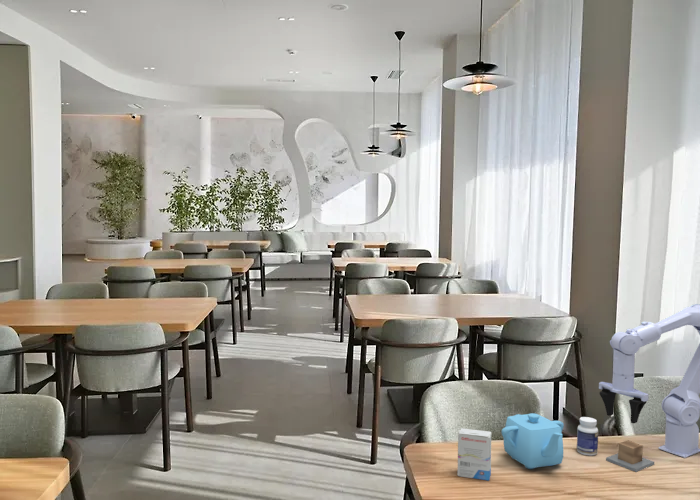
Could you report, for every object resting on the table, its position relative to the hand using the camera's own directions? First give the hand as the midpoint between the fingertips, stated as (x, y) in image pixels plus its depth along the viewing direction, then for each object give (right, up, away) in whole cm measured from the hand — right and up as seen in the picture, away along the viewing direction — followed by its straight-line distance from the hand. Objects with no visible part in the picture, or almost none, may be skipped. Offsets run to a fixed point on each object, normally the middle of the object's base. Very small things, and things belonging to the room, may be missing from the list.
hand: (621, 418), depth 174 cm
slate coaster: (-1, -10, -7) cm, 13 cm away
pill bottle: (-10, -10, 0) cm, 14 cm away
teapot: (-28, -11, -8) cm, 31 cm away
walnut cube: (-1, -10, -7) cm, 12 cm away
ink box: (-47, -11, -15) cm, 50 cm away
